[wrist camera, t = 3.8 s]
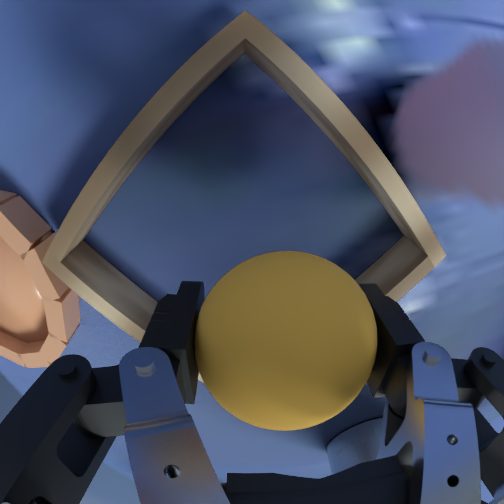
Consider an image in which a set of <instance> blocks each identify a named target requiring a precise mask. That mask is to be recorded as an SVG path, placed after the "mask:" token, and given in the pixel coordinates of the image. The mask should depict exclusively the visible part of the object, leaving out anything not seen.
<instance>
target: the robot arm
mask: <svg viewBox="0 0 504 504" xmlns="http://www.w3.org/2000/svg"><path fill="white" fill-rule="evenodd" d="M358 285H359V286H360V287H361V289H362V290H363V292H364V293H365V295H366V297H367V299H368V301H369V303H370V305H371V307H372V310H373V313H374V317H375V322H376V326H377V351H376V357H375V362H374V365H373V368H372V371H371V374H370V376H369V378H368V380H367V382H368V385H369V387H370V390H371V392H372V395H373V397H374V398H377V397H383V396H386V397H387V400H388V401H387V403H386V405H385V407H384V411H383V418H378V419H374V420H370V421H367V422H364V423H361V424H359V425H356V426H354V427H352V428H350V429H348V430H346V431H344V432H343V433H341V434H339V435H338V436H337V437H335V438H334V439H333V440H332V441H331V442H330V443H329V445H328V446H327V454H328V458H329V463H330V467H331V472H332V475H330V476H327V477H325V478H321V479H313V478H304V477H296V476H289V475H282V474H276V473H227V483H223V484H220V482H219V480H218V478H217V475H216V473H215V471H214V469H213V467H212V464H211V462H210V460H209V458H208V455H207V453H206V451H205V448H204V446H203V443H202V441H201V439H200V436H199V434H198V431H197V429H196V426H195V424H194V421H193V419H192V417H191V415H190V414H188V412H187V409H186V406H185V403H186V404H194V402H195V395H196V389H197V382H198V376H199V369H198V366H197V362H196V358H195V344H194V339H195V328H196V321H197V318H198V316H199V313H200V310H201V307H202V304H203V303H204V301H205V298H204V284H203V282H198V281H182V282H181V285H180V287H179V290H178V293H177V295H174V294H167V295H166V296H164V297H163V298H162V299H161V300H160V301H159V302H158V303H157V305H156V308H155V310H154V313H153V314H152V317H151V321H149V324H148V326H147V329H146V331H145V333H144V336H143V338H142V340H141V343H140V345H139V348H137V349H134V350H132V351H130V352H128V353H127V354H125V355H124V356H123V358H122V359H121V361H120V363H119V365H116V366H110V367H101V368H92V367H91V365H90V363H89V361H88V360H87V359H86V358H84V357H82V356H80V355H65V356H62V357H60V358H58V359H56V360H55V361H53V362H52V363H51V364H50V365H49V367H48V368H47V369H46V370H45V371H44V372H43V373H42V375H41V376H40V377H39V378H38V379H37V380H36V381H35V383H34V384H33V385H32V386H31V387H30V388H29V389H28V391H27V392H26V393H25V394H24V395H23V397H22V398H21V399H20V400H19V401H18V403H17V404H16V405H15V406H14V407H13V409H12V410H11V411H10V412H9V414H8V415H7V416H6V417H5V419H4V420H3V421H2V422H1V424H0V504H79V503H80V501H81V499H82V498H83V496H84V494H85V492H86V490H87V488H88V486H89V485H90V483H91V481H92V479H93V477H94V476H95V474H96V472H97V470H98V468H99V466H100V465H101V463H102V461H103V459H104V458H105V456H106V454H107V452H108V451H109V449H110V447H111V445H112V443H113V442H114V440H115V438H116V436H120V435H124V436H125V441H126V447H127V451H128V456H129V461H130V465H131V469H132V474H133V478H134V482H135V485H136V489H137V493H138V496H139V500H140V503H141V504H488V503H486V502H484V501H482V500H481V480H482V481H483V483H484V484H485V486H486V487H487V488H488V490H489V492H490V493H491V494H492V496H493V497H494V499H493V500H492V501H491V502H490V503H489V504H504V428H503V430H502V431H501V432H500V433H497V432H496V431H495V430H494V429H493V428H492V426H491V425H490V424H489V423H488V421H487V420H486V419H485V418H484V416H483V415H482V414H481V413H480V412H479V410H478V409H477V408H478V407H479V406H480V404H481V403H482V402H483V400H484V399H485V397H486V398H487V400H488V401H489V402H490V403H491V404H492V405H493V406H494V408H495V409H496V410H497V411H498V412H499V413H500V415H501V416H502V417H503V419H504V360H503V359H502V358H501V357H500V356H499V355H498V354H497V353H495V352H494V351H492V350H490V349H488V348H483V347H479V348H476V349H474V350H473V351H472V353H471V355H470V357H469V359H468V360H464V359H453V358H451V356H450V354H449V353H448V351H447V350H446V349H445V348H443V347H442V346H440V345H438V344H436V343H433V342H425V340H424V339H423V338H422V336H421V335H420V333H419V332H418V330H417V329H416V327H415V326H414V325H413V323H412V322H411V320H409V318H408V316H407V315H406V313H404V311H403V309H402V308H401V307H400V305H399V304H398V303H397V302H396V301H394V300H393V299H391V298H390V297H389V296H385V295H384V294H383V292H382V291H381V290H380V288H379V287H378V285H377V284H375V283H367V284H358Z"/></svg>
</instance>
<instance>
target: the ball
mask: <svg viewBox="0 0 504 504" xmlns="http://www.w3.org/2000/svg"><path fill="white" fill-rule="evenodd" d="M194 344H195V358H196V362H197V366H198V369H199V372H200V375H201V377H202V380H203V382H204V383H205V385H206V387H207V389H208V390H209V392H210V393H211V395H212V396H213V397H214V398H215V399H216V400H217V402H218V403H219V404H220V405H221V406H222V407H223V408H224V409H226V410H227V411H228V412H230V413H231V414H232V415H234V416H235V417H237V418H238V419H240V420H242V421H244V422H247V423H249V424H251V425H254V426H257V427H260V428H264V429H270V430H280V431H290V430H299V429H304V428H309V427H312V426H315V425H318V424H320V423H322V422H324V421H326V420H328V419H330V418H332V417H334V416H336V415H337V414H338V413H340V412H341V411H343V410H344V409H345V408H346V407H347V406H348V405H349V404H350V403H351V402H352V401H353V400H354V399H355V398H356V397H357V396H358V394H359V393H360V391H361V390H362V388H363V387H364V385H365V384H366V382H367V380H368V378H369V376H370V374H371V371H372V368H373V365H374V362H375V357H376V351H377V326H376V322H375V317H374V313H373V310H372V307H371V305H370V303H369V301H368V299H367V297H366V295H365V293H364V292H363V290H362V289H361V287H360V286H359V285H358V284H357V282H356V281H355V280H354V279H353V278H352V277H351V276H350V275H349V274H348V273H347V272H345V271H344V270H343V269H341V268H340V267H339V266H337V265H336V264H334V263H332V262H330V261H329V260H327V259H324V258H322V257H319V256H316V255H313V254H310V253H305V252H299V251H276V252H270V253H265V254H261V255H258V256H255V257H253V258H250V259H248V260H245V261H244V262H242V263H240V264H239V265H237V266H235V267H234V268H233V269H231V270H230V271H229V272H227V273H226V274H225V275H224V276H223V277H222V278H221V279H220V280H219V281H218V282H217V283H216V284H215V285H214V287H213V288H212V289H211V291H210V292H209V294H208V295H207V297H206V299H205V301H204V303H203V304H202V307H201V310H200V313H199V316H198V318H197V321H196V328H195V339H194Z"/></svg>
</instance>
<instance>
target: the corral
mask: <svg viewBox="0 0 504 504" xmlns="http://www.w3.org/2000/svg"><path fill="white" fill-rule="evenodd" d="M243 54H245V55H246V56H248V57H249V58H250V59H251V60H252V61H253V62H254V63H255V64H257V65H258V66H259V67H260V68H261V69H262V70H263V71H264V72H265V73H266V74H267V75H268V76H269V77H271V78H272V79H273V80H274V81H275V82H276V83H277V84H278V85H279V86H280V87H281V88H282V89H283V90H284V91H285V92H286V93H287V94H288V95H289V96H290V97H291V98H292V99H293V100H294V101H295V102H296V103H297V104H298V105H299V106H300V107H301V108H302V109H303V110H304V111H305V112H306V114H307V115H308V116H309V117H310V118H311V119H312V120H313V121H314V122H315V123H316V124H317V125H318V126H319V128H320V129H321V130H322V131H323V132H324V133H325V134H326V135H327V137H328V138H329V139H330V140H331V141H332V142H333V143H334V145H335V146H336V147H337V148H338V149H339V150H340V152H341V153H342V154H343V155H344V156H345V158H346V159H347V160H348V161H349V162H350V164H351V165H352V166H353V167H354V169H355V170H356V171H357V172H358V174H359V175H360V176H361V177H362V179H363V180H364V181H365V182H366V184H367V185H368V186H369V188H370V189H371V190H372V192H373V193H374V194H375V196H376V197H377V198H378V200H379V201H380V202H381V204H382V205H383V206H384V208H385V209H386V211H387V212H388V213H389V215H390V216H391V218H392V219H393V220H394V222H395V223H396V225H397V226H398V228H399V229H400V231H401V232H402V234H403V235H404V236H403V237H402V238H401V239H400V240H398V241H397V242H396V243H395V244H394V245H393V246H392V247H391V248H390V249H389V250H388V251H387V252H385V253H384V254H383V255H382V256H381V257H380V258H379V259H378V260H377V261H375V262H374V263H373V264H372V265H371V266H370V267H369V268H368V269H366V270H365V271H364V272H363V273H362V274H361V275H359V276H358V277H357V278H356V279H355V281H356V282H357V284H367V283H375V284H377V285H378V287H379V288H380V290H381V291H382V292H383V294H384V295H385V296H389V297H390V298H391V299H393V300H394V301H396V302H397V301H398V300H399V299H400V298H402V297H403V296H404V295H405V294H406V293H407V292H408V291H409V290H411V289H412V288H413V287H414V286H415V285H416V284H417V283H418V282H419V281H420V280H422V279H423V278H424V277H425V276H426V275H427V274H428V273H429V272H430V271H431V270H432V269H433V268H434V267H435V266H436V265H437V264H438V263H439V262H440V261H441V260H443V259H444V258H445V257H446V254H445V252H444V250H443V248H442V246H441V244H440V243H439V241H438V239H437V237H436V235H435V233H434V232H433V230H432V228H431V226H430V225H429V223H428V221H427V219H426V218H425V216H424V214H423V213H422V211H421V209H420V208H419V206H418V204H417V203H416V201H415V200H414V198H413V196H412V195H411V193H410V192H409V190H408V189H407V187H406V186H405V184H404V183H403V181H402V180H401V178H400V177H399V175H398V174H397V172H396V171H395V169H394V168H393V166H392V165H391V164H390V162H389V161H388V159H387V158H386V157H385V155H384V154H383V153H382V151H381V150H380V148H379V147H378V146H377V144H376V143H375V142H374V140H373V139H372V138H371V137H370V135H369V134H368V133H367V131H366V130H365V129H364V128H363V126H362V125H361V124H360V123H359V121H358V120H357V119H356V118H355V117H354V115H353V114H352V113H351V112H350V111H349V109H348V108H347V107H346V106H345V105H344V104H343V102H342V101H341V100H340V99H339V98H338V97H337V96H336V95H335V93H334V92H333V91H332V90H331V89H330V88H329V87H328V86H327V85H326V84H325V83H324V81H323V80H322V79H321V78H320V77H319V76H318V75H317V74H316V73H315V72H314V71H313V70H312V69H311V68H310V67H309V66H308V65H307V64H306V63H305V62H304V61H303V60H302V59H301V58H300V57H299V56H298V55H297V54H296V53H295V52H294V51H293V50H292V49H291V48H289V47H288V46H287V45H286V44H285V43H284V42H283V41H282V40H281V39H280V38H279V37H277V36H276V35H275V34H274V33H273V32H272V31H271V30H269V29H268V28H267V27H266V26H265V25H264V24H262V23H261V22H260V21H259V20H258V19H256V18H255V17H254V16H253V15H251V14H250V13H249V12H248V11H246V10H245V11H244V12H242V13H241V14H240V15H238V16H237V17H236V18H235V19H233V20H232V21H231V22H230V23H229V24H227V25H226V26H225V27H224V28H223V29H221V30H220V31H219V32H218V33H217V34H216V35H214V36H213V37H212V38H211V39H210V40H209V41H208V42H206V43H205V44H204V45H203V46H202V47H201V48H200V49H199V50H198V51H197V52H196V53H195V54H193V55H192V56H191V57H190V58H189V59H188V60H187V61H186V62H185V63H184V64H183V65H182V66H181V67H180V68H179V69H178V70H177V71H176V72H175V73H174V74H173V75H172V76H171V77H170V78H169V79H168V81H167V82H166V83H165V84H164V85H163V86H162V87H161V88H160V89H159V90H158V91H157V92H156V93H155V95H154V96H153V97H152V98H151V99H150V100H149V101H148V102H147V104H146V105H145V106H144V107H143V108H142V109H141V111H140V112H139V113H138V114H137V115H136V117H135V118H134V119H133V120H132V121H131V123H130V124H129V125H128V126H127V128H126V129H125V130H124V131H123V133H122V134H121V135H120V137H119V138H118V139H117V141H116V142H115V143H114V145H113V146H112V147H111V149H110V150H109V151H108V153H107V154H106V155H105V157H104V158H103V160H102V161H101V162H100V164H99V165H98V167H97V168H96V170H95V171H94V173H93V174H92V175H91V177H90V178H89V180H88V182H87V183H86V185H85V186H84V188H83V189H82V191H81V192H80V194H79V196H78V197H77V199H76V200H75V202H74V204H73V205H72V207H71V209H70V210H69V212H68V214H67V215H66V217H65V219H64V221H63V222H62V224H61V226H60V228H59V230H58V231H57V233H56V235H55V237H54V239H53V241H52V243H51V245H50V246H49V248H48V250H47V252H46V254H45V256H44V258H43V260H42V263H43V264H44V265H45V266H46V267H47V268H48V269H49V270H51V271H52V272H53V273H54V274H55V275H56V276H57V277H58V278H59V279H60V280H62V281H63V282H64V283H65V284H66V285H67V286H68V287H70V288H71V289H72V290H73V291H74V292H75V293H77V294H78V295H79V296H80V297H81V298H83V299H84V300H85V301H86V302H87V303H89V304H90V305H91V306H92V307H94V308H95V309H96V310H97V311H99V312H100V313H101V314H102V315H104V316H105V317H106V318H108V319H109V320H110V321H111V322H113V323H114V324H115V325H117V326H118V327H119V328H121V329H122V330H124V331H125V332H126V333H128V334H129V335H130V336H132V337H133V338H135V339H136V340H137V341H139V342H140V343H141V340H142V338H143V336H144V333H145V331H146V329H147V326H148V324H149V321H151V317H152V314H153V313H154V310H155V308H156V305H157V303H158V302H157V301H156V300H155V299H153V298H152V297H151V296H149V295H148V294H147V293H146V292H144V291H143V290H142V289H141V288H139V287H138V286H137V285H135V284H134V283H133V282H132V281H131V280H129V279H128V278H127V277H126V276H124V275H123V274H122V273H121V272H120V271H118V270H117V269H116V268H115V267H114V266H112V265H111V264H110V263H109V262H108V261H107V260H105V259H104V258H103V257H102V256H101V255H100V254H98V253H97V252H96V251H95V250H94V249H93V248H92V247H90V246H89V245H88V244H87V243H86V242H85V241H84V239H85V237H86V235H87V234H88V232H89V231H90V229H91V228H92V226H93V225H94V223H95V222H96V220H97V219H98V217H99V216H100V214H101V213H102V212H103V210H104V209H105V207H106V206H107V204H108V203H109V202H110V200H111V199H112V197H113V196H114V195H115V193H116V192H117V191H118V189H119V188H120V187H121V185H122V184H123V183H124V181H125V180H126V179H127V177H128V176H129V175H130V174H131V172H132V171H133V170H134V168H135V167H136V166H137V165H138V163H139V162H140V161H141V160H142V158H143V157H144V156H145V155H146V154H147V152H148V151H149V150H150V149H151V148H152V146H153V145H154V144H155V143H156V142H157V141H158V139H159V138H160V137H161V136H162V135H163V134H164V133H165V131H166V130H167V129H168V128H169V127H170V126H171V125H172V124H173V123H174V121H175V120H176V119H177V118H178V117H179V116H180V115H181V114H182V113H183V112H184V111H185V110H186V109H187V107H188V106H189V105H190V104H191V103H192V102H193V101H194V100H195V99H196V98H197V97H198V96H199V95H200V94H201V93H202V92H203V91H204V90H205V89H206V88H207V87H208V86H209V85H210V84H211V83H212V82H213V81H214V80H216V79H217V78H218V77H219V76H220V75H221V74H222V73H223V72H224V71H225V70H226V69H227V68H228V67H229V66H231V65H232V64H233V63H234V62H235V61H236V60H237V59H238V58H240V57H241V56H242V55H243ZM198 380H199V381H201V382H203V380H202V377H201V375H200V372H199V376H198ZM203 383H204V382H203ZM204 384H205V383H204Z"/></svg>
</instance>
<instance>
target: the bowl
mask: <svg viewBox="0 0 504 504" xmlns="http://www.w3.org/2000/svg"><path fill="white" fill-rule="evenodd" d="M51 229H52V227H51V226H49V225H48V224H47V223H46V222H45V221H44V220H43V219H42V218H41V217H40V216H39V215H38V214H37V213H36V212H35V211H34V210H33V209H32V208H31V207H30V205H29V204H28V203H27V202H26V201H25V200H24V199H23V198H22V197H21V196H18V197H17V193H12V192H8V191H3V190H0V355H1V356H3V357H5V358H7V359H9V360H11V361H13V362H15V363H17V364H19V365H21V366H23V367H25V366H26V367H27V368H35V367H49V365H50V364H51V363H52V362H53V361H55V360H56V359H58V358H59V356H60V355H61V353H62V352H63V350H64V349H65V347H66V346H67V344H68V342H69V341H70V339H71V337H72V336H73V334H74V333H75V331H76V329H77V328H78V326H79V325H80V324H79V323H80V321H81V320H80V309H79V295H78V294H77V293H75V292H74V291H73V290H72V289H71V288H70V287H68V286H67V285H66V284H65V283H64V282H63V281H62V280H60V279H59V278H58V277H57V276H56V275H55V274H54V273H53V272H52V271H51V270H49V269H48V268H47V267H46V266H45V265H44V264H43V263H42V260H43V258H44V256H45V254H46V252H47V250H48V248H49V246H50V245H51V243H52V241H53V239H54V237H55V235H56V234H55V232H54V233H52V231H51Z"/></svg>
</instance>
